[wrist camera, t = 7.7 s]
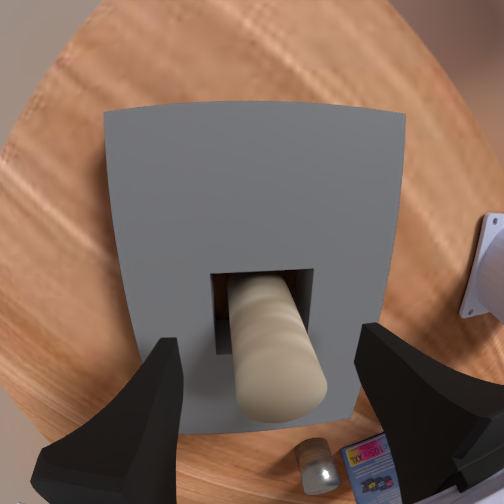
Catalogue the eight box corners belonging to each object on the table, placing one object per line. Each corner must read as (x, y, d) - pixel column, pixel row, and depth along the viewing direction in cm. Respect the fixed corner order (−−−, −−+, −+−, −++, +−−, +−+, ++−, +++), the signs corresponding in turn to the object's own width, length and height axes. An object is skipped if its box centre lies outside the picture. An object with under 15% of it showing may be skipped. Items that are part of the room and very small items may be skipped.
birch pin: (285, 256, 17) (335, 359, 9) (280, 306, 18) (318, 418, 10) (226, 257, 16) (237, 366, 9) (226, 307, 17) (236, 426, 10)
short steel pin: (330, 435, 24) (344, 476, 20) (324, 452, 25) (336, 490, 21) (296, 440, 23) (306, 483, 19) (293, 457, 25) (302, 497, 20)
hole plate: (374, 113, 14) (405, 114, 11) (337, 387, 21) (350, 417, 18) (125, 113, 13) (103, 112, 10) (168, 400, 20) (164, 434, 17)
